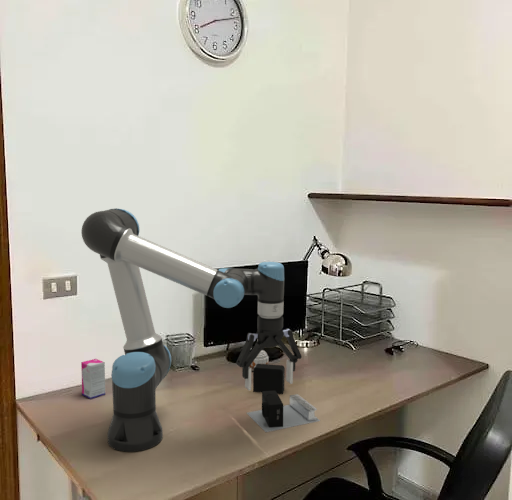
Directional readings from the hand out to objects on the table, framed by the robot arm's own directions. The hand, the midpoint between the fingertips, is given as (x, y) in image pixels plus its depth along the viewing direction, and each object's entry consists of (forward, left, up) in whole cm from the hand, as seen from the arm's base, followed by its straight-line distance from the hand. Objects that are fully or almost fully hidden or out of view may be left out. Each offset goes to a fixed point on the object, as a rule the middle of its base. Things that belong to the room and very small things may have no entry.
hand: (269, 385), depth 164 cm
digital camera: (0, 0, -11) cm, 11 cm away
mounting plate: (+5, 0, -12) cm, 13 cm away
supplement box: (-44, +44, -12) cm, 64 cm away
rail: (+11, 0, -11) cm, 15 cm away
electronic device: (+10, +20, -12) cm, 25 cm away
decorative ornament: (+17, +44, -12) cm, 49 cm away
